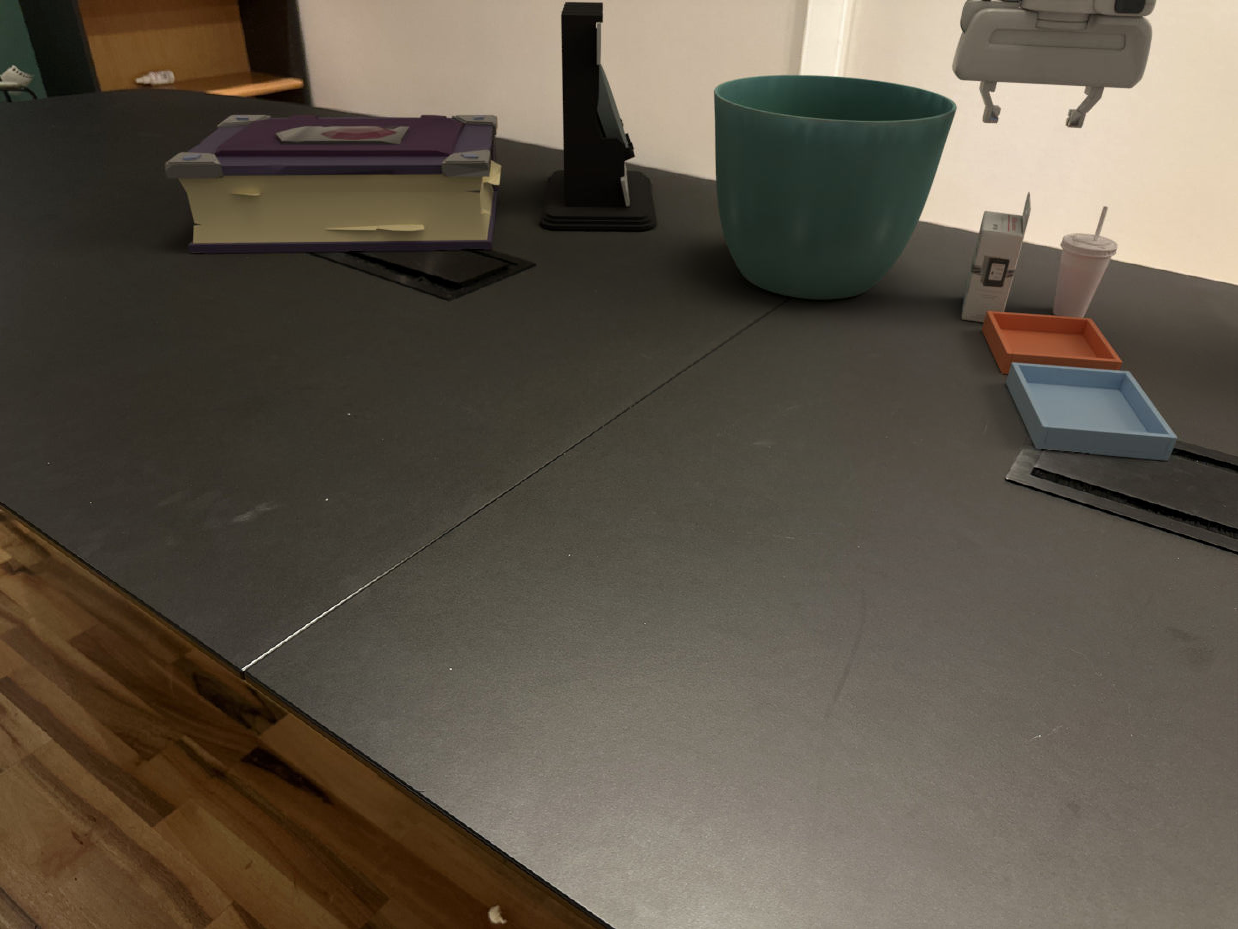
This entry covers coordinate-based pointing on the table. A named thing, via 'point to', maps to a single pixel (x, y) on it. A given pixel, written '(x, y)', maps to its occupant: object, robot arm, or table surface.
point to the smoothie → (1081, 270)
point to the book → (342, 184)
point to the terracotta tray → (1047, 341)
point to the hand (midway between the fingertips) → (1031, 124)
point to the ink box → (994, 262)
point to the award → (593, 141)
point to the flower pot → (823, 177)
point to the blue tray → (1089, 411)
